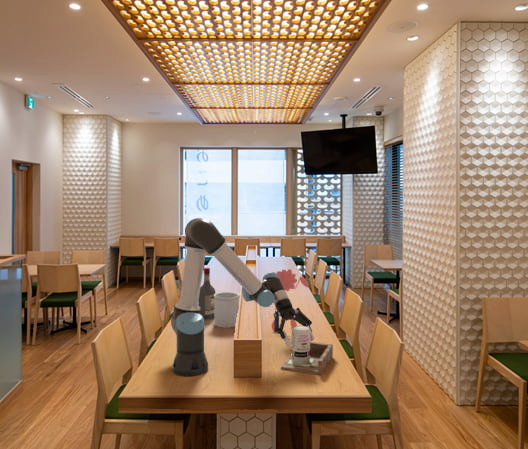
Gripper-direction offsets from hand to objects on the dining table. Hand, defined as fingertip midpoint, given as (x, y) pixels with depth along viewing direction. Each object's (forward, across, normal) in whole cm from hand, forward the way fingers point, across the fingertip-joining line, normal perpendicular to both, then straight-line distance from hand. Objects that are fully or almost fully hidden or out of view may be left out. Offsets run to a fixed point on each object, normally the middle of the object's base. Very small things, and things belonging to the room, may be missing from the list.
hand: (300, 342), depth 202 cm
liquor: (-57, +1, -72) cm, 92 cm away
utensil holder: (-42, -2, -57) cm, 71 cm away
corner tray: (+8, -3, -6) cm, 10 cm away
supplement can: (+6, 0, -6) cm, 9 cm away
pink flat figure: (-21, -21, -36) cm, 47 cm away
